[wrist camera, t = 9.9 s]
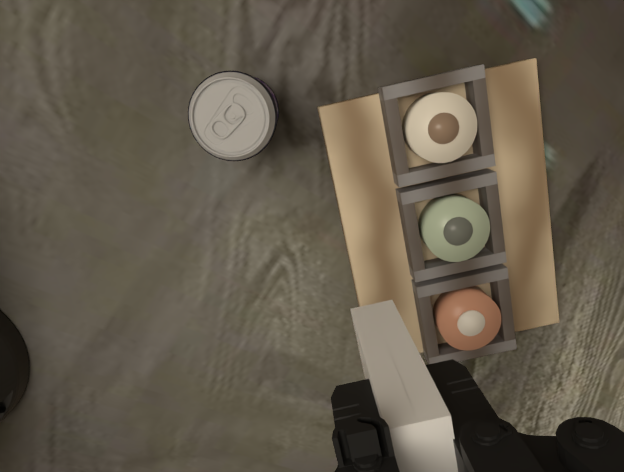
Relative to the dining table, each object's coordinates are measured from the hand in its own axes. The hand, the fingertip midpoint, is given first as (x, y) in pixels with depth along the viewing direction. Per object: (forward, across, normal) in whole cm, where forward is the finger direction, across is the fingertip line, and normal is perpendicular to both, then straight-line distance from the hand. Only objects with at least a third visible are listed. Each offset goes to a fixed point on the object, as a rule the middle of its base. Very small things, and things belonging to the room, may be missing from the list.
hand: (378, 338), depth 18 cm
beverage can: (+29, -5, +8) cm, 30 cm away
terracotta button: (+26, +10, -14) cm, 31 cm away
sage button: (+26, +10, -5) cm, 29 cm away
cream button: (+26, +10, +4) cm, 28 cm away
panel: (+28, +10, -5) cm, 31 cm away
